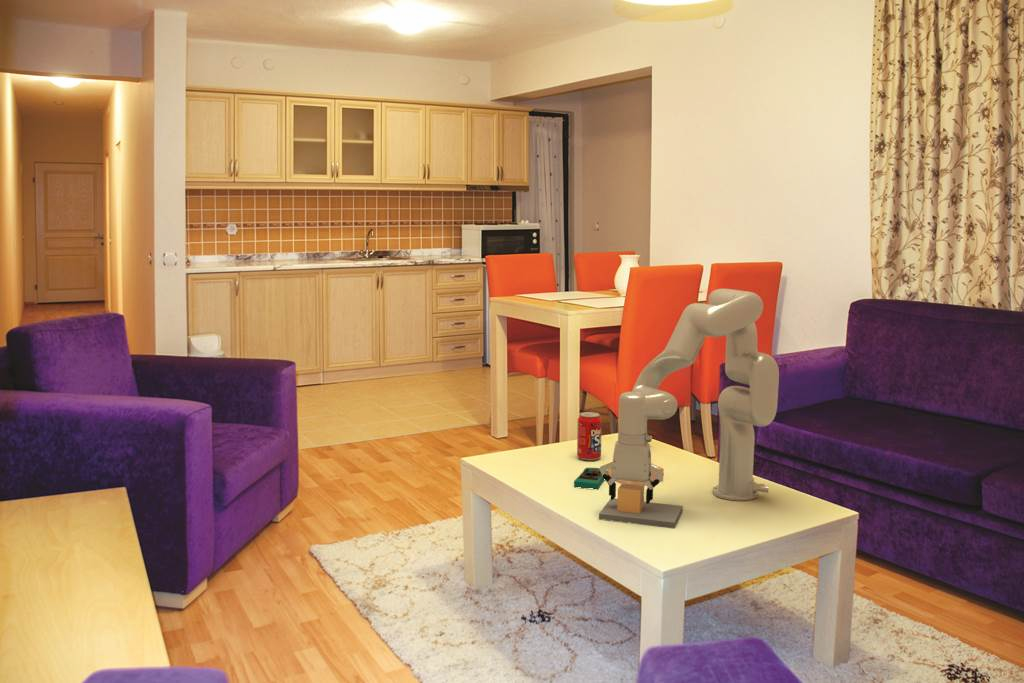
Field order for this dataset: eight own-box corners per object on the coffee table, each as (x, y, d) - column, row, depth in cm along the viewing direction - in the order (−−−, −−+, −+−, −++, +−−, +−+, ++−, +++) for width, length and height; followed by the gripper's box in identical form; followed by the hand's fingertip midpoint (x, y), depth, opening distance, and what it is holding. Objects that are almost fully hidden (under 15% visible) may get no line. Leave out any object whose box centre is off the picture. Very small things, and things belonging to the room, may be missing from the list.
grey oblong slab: (682, 511, 247) (682, 505, 247) (674, 528, 234) (674, 522, 234) (610, 503, 254) (610, 497, 253) (598, 519, 241) (598, 513, 240)
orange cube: (643, 506, 246) (644, 485, 246) (639, 513, 241) (640, 491, 240) (622, 503, 248) (622, 482, 248) (617, 510, 243) (617, 489, 242)
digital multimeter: (608, 477, 279) (608, 468, 279) (597, 491, 265) (597, 481, 265) (585, 475, 282) (585, 466, 281) (573, 488, 268) (573, 479, 267)
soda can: (575, 455, 302) (575, 411, 300) (598, 455, 303) (599, 411, 300) (579, 462, 294) (580, 417, 292) (603, 461, 295) (604, 416, 293)
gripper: (667, 438, 242) (665, 499, 245) (603, 432, 248) (602, 492, 251) (662, 444, 235) (660, 508, 238) (597, 439, 241) (596, 501, 244)
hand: (630, 500), depth 244 cm, fingers open, 9 cm apart
